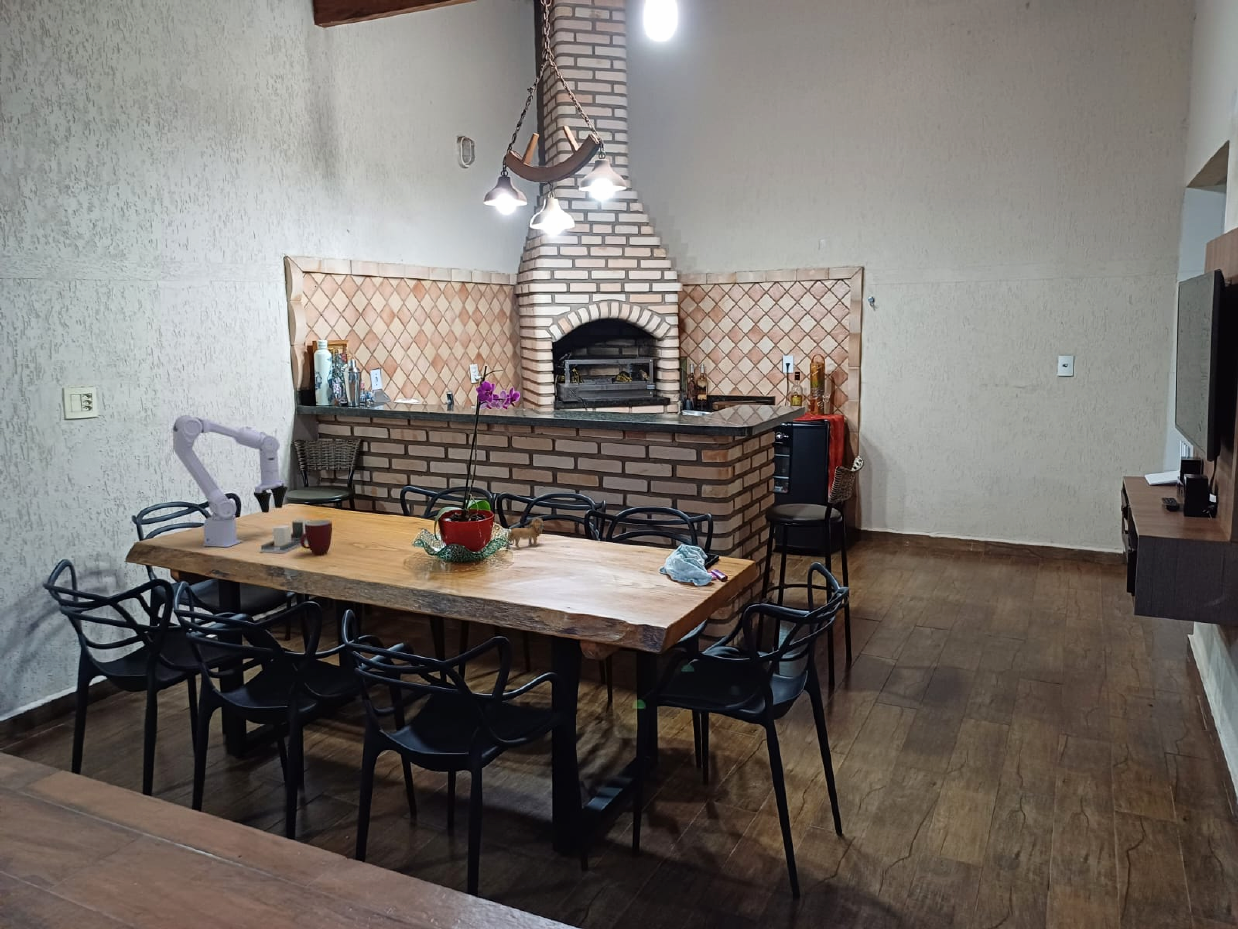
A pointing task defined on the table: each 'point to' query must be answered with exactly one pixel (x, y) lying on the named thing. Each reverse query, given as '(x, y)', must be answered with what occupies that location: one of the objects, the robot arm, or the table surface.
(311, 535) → the mug
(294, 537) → the rail
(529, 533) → the lion figurine
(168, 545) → the table surface
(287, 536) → the white rectangular block
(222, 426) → the robot arm
